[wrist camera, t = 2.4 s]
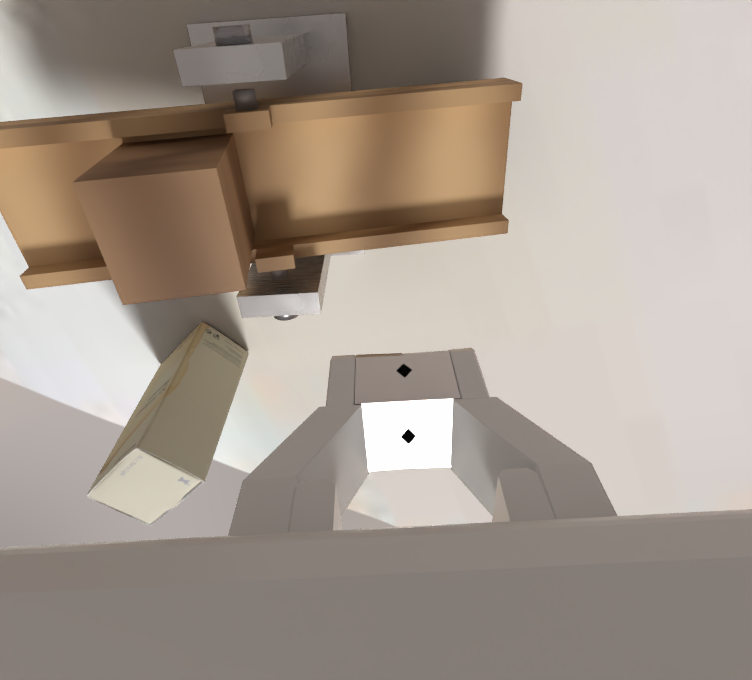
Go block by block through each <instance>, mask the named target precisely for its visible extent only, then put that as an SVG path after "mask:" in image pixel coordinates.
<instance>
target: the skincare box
mask: <svg viewBox="0 0 752 680" xmlns="http://www.w3.org/2000/svg"><path fill="white" fill-rule="evenodd" d="M247 357H248V352H247V351H246V350H244V349H243V348H241V347H240V346H239V345H237V344H236V343H234V342H233V341H231V340H230V339H228V338H227V337H225V336H224V335H223V334H221V333H220V332H218V331H217V330H215V329H214V328H212V327H211V326H209V325H207V324H206V323H204V322H201V323H200V324H199V325H198V326H197V327H196V328H195V329H194V330H193V331H192V332H191V333H190V334H189V335H188V336H187V337H186V338H185V340H184V341H183V342H182V343H181V344H180V345H179V346H178V347H177V348H176V349H175V350H174V351H173V352H172V353H171V354H170V355H169V357H168V358H167V359H166V360H165V361H164V362H163V363H162V364H161V365H160V367H159V368H158V370H157V372H156V374H155V375H154V377H153V379H152V381H151V382H150V384H149V386H148V388H147V389H146V391H145V393H144V395H143V396H142V398H141V400H140V402H139V403H138V405H137V407H136V409H135V410H134V412H133V414H132V416H131V418H130V419H129V421H128V423H127V425H126V427H125V428H124V430H123V432H122V434H121V435H120V437H119V439H118V441H117V443H116V444H115V446H114V448H113V450H112V452H111V453H110V455H109V457H108V458H107V460H106V462H105V464H104V466H103V467H102V469H101V471H100V473H99V475H98V476H97V478H96V480H95V482H94V483H93V485H92V487H91V489H90V490H89V492H88V494H87V497H89V498H90V499H92V500H94V501H96V502H99V503H101V504H103V505H105V506H107V507H109V508H111V509H114V510H116V511H118V512H120V513H122V514H124V515H126V516H129V517H131V518H133V519H135V520H137V521H139V522H142V523H144V524H146V525H149V526H151V525H153V524H154V523H156V522H157V521H158V520H159V519H161V518H162V517H163V516H164V515H166V514H167V513H168V512H170V511H171V510H172V509H173V508H175V507H176V506H177V505H178V504H180V503H181V502H182V501H183V500H184V499H185V498H187V497H188V496H189V495H190V494H191V493H192V492H194V491H195V490H196V489H197V488H198V487H199V486H200V485H201V484H203V483H204V482H205V479H206V476H207V473H208V470H209V467H210V465H211V462H212V459H213V456H214V453H215V450H216V447H217V444H218V441H219V438H220V436H221V433H222V430H223V427H224V424H225V421H226V418H227V415H228V412H229V409H230V406H231V404H232V401H233V398H234V395H235V392H236V389H237V386H238V383H239V380H240V377H241V375H242V372H243V369H244V366H245V363H246V360H247Z"/></svg>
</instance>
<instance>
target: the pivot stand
mask: <svg viewBox="0 0 752 680" xmlns="http://www.w3.org/2000/svg"><path fill="white" fill-rule="evenodd" d="M187 29H188V33H189V37H190V42H191V46H190V47H185V48H180V49H176V50H173V52H174V56H175V60H176V64H177V68H178V71H179V75H180V79H181V83H182V87H185V86H199V85H201V88H202V92H203V96H204V100H205V104H211V103H223V102H234V97H233V93H232V91H234V90H239V89H255V93H256V99H268V98H280V97H291V96H302V95H314V94H325V93H336V92H348V91H352V89H351V76H350V63H349V51H348V38H347V26H346V13H337V14H323V15H309V16H295V17H282V18H268V19H254V20H241V21H227V22H213V23H199V24H187ZM348 254H364V250H360V251H351V252H343V253H334V254H325V255H317V256H308V257H300V258H295V268H294V269H288V277H287V278H285V279H283V280H272V279H271V277H270V272H261V273H258V271H257V266H256V263H252V265H251V267H250V270H249V274H248V280H247V286H246V290H242V291H239V293H238V295H237V301H238V304H239V308H240V312H241V316H242V318H248V317H266V316H274V318H276V319H277V320H290V319H293V318H295V317H297V316H298V315H303V314H321V310H322V304H323V298H324V292H325V286H326V280H327V274H328V268H329V262H330V256H331V255H348Z"/></svg>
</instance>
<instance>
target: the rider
mask: <svg viewBox="0 0 752 680" xmlns="http://www.w3.org/2000/svg"><path fill="white" fill-rule="evenodd" d="M72 184H73V186H74V189H75V191H76V193H77V196H78V198H79V201H80V203H81V205H82V208H83V210H84V213H85V215H86V217H87V220H88V222H89V225H90V227H91V229H92V232H93V234H94V237H95V239H96V241H97V244H98V246H99V249H100V251H101V253H102V256H103V258H104V261H105V263H106V266H107V268H108V270H109V273H110V275H111V278H112V280H113V282H114V285H115V287H116V290H117V292H118V294H119V297H120V299H121V302H122V304H123V305H127V304H135V303H143V302H151V301H160V300H168V299H176V298H184V297H192V296H201V295H209V294H217V293H225V292H234V291H242V290H246V286H247V280H248V274H249V268H250V261H251V255H252V249H253V243H254V236H255V232H254V228H253V223H252V218H251V214H250V209H249V204H248V200H247V195H246V190H245V186H244V181H243V176H242V172H241V167H240V162H239V158H238V153H237V148H236V144H235V139H234V134H233V133H227V134H216V135H205V136H195V137H184V138H173V139H162V140H152V141H141V142H130V143H122V144H121V145H120V146H118V147H117V148H116V149H115V150H113V151H112V152H111V153H109V154H108V155H107V156H105V157H104V158H103V159H102V160H100V161H99V162H98V163H96V164H95V165H94V166H93V167H91V168H90V169H89V170H87V171H86V172H85V173H83V174H82V175H81V176H80V177H78V178H77V179H76V180H74V181H73V182H72Z"/></svg>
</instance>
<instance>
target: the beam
mask: <svg viewBox="0 0 752 680" xmlns="http://www.w3.org/2000/svg"><path fill="white" fill-rule="evenodd" d="M521 92H522V83H520V82H517V81H513V80H510V79H507V78H496V79H484V80H473V81H462V82H450V83H439V84H427V85H416V86H405V87H393V88H382V89H371V90H359V91H348V92H336V93H325V94H314V95H302V96H291V97H280V98H268V99H256V93H255V89H239V90H234V91H232V93H233V97H234V102H223V103H211V104H200V105H189V106H177V107H166V108H154V109H143V110H132V111H120V112H109V113H98V114H86V115H75V116H63V117H52V118H41V119H29V120H18V121H7V122H0V212H1V214H2V216H3V218H4V220H5V222H6V224H7V226H8V227H9V229H10V231H11V233H12V235H13V237H14V239H15V241H16V243H17V245H18V247H19V249H20V251H21V253H22V255H23V256H24V258H25V260H26V262H27V264H28V266H29V268H28V269H27V270H26V271H25V272H24V273H23V274H22V275H21V276H20V278H21V280H22V282H23V283H24V285H25V287H26V289H35V288H43V287H52V286H60V285H69V284H77V283H86V282H95V281H103V280H112V278H111V275H110V273H109V270H108V268H107V266H106V263H105V261H104V258H103V256H102V253H101V251H100V249H99V246H98V244H97V241H96V239H95V237H94V234H93V232H92V229H91V227H90V225H89V222H88V220H87V217H86V215H85V213H84V210H83V208H82V205H81V203H80V201H79V198H78V196H77V193H76V191H75V189H74V186H73V184H72V182H73V181H74V180H76V179H77V178H78V177H80V176H81V175H82V174H83V173H85V172H86V171H87V170H89V169H90V168H91V167H93V166H94V165H95V164H96V163H98V162H99V161H100V160H102V159H103V158H104V157H105V156H107V155H108V154H109V153H111V152H112V151H113V150H115V149H116V148H117V147H118V146H120V145H121V144H122V143H130V142H141V141H152V140H162V139H173V138H184V137H195V136H205V135H216V134H227V133H233V134H234V139H235V144H236V148H237V153H238V158H239V162H240V167H241V172H242V176H243V181H244V186H245V190H246V195H247V200H248V204H249V209H250V214H251V218H252V223H253V228H254V232H255V236H254V243H253V249H252V255H251V261H250V263H256V266H257V271H258V273H261V272H270V277H271V279H272V280H283V279H285V278H287V277H288V269H294V268H295V258H300V257H308V256H317V255H325V254H334V253H343V252H351V251H360V250H368V249H377V248H385V247H394V246H402V245H411V244H420V243H428V242H437V241H445V240H454V239H462V238H471V237H479V236H488V235H497V234H505V233H507V232H508V222H509V220H508V219H507V218H506V217H505V216H503V215H502V205H503V194H504V183H505V172H506V161H507V150H508V139H509V128H510V117H511V106H512V101H521Z"/></svg>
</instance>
